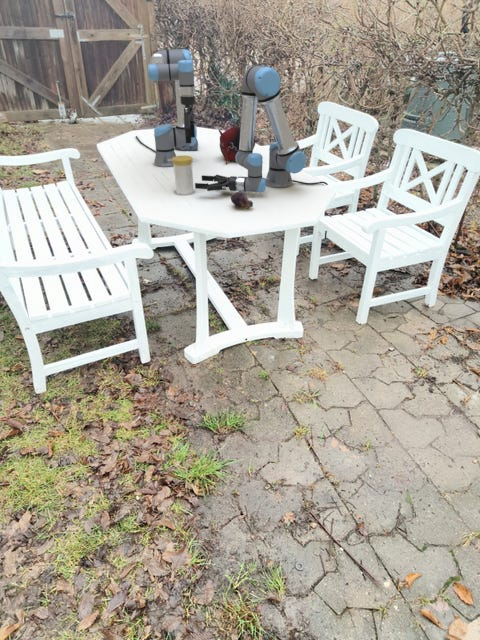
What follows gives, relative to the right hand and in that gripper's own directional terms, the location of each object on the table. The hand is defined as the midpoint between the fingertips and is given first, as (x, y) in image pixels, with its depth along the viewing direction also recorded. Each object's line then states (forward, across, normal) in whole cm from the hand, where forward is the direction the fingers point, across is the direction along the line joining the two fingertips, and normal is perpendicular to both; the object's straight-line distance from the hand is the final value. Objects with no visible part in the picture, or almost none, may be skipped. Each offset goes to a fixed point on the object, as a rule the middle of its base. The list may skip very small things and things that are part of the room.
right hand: (198, 181), depth 243 cm
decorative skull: (-7, +70, -6) cm, 71 cm away
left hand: (+5, +6, +20) cm, 21 cm away
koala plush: (+35, +92, -6) cm, 99 cm away
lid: (+8, 0, +12) cm, 14 cm away
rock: (-27, -18, -6) cm, 33 cm away
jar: (+8, 0, -6) cm, 10 cm away
